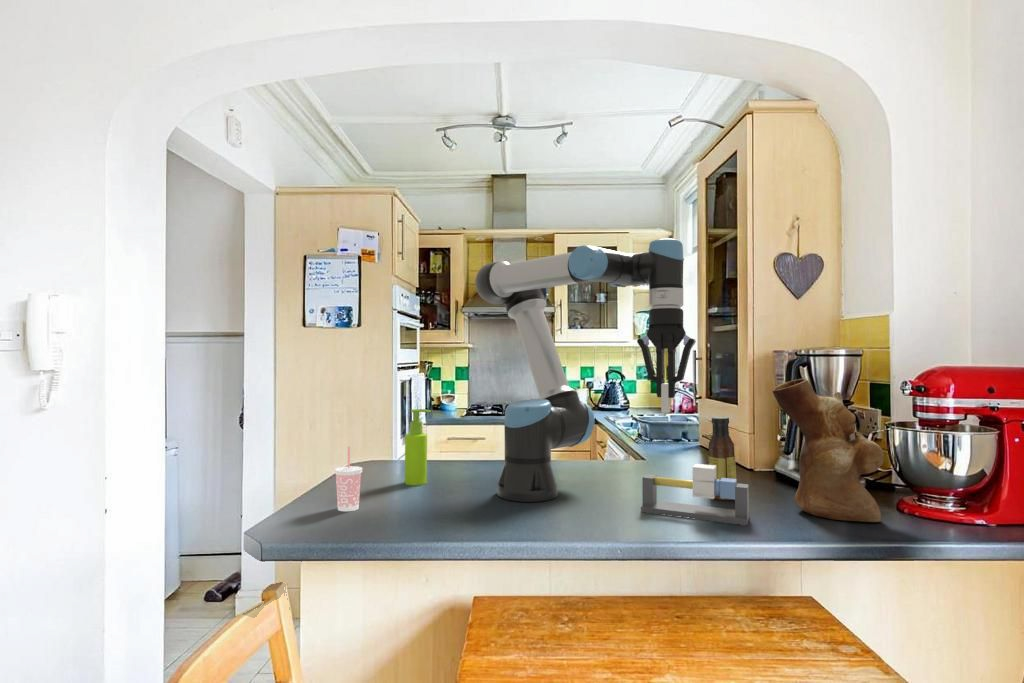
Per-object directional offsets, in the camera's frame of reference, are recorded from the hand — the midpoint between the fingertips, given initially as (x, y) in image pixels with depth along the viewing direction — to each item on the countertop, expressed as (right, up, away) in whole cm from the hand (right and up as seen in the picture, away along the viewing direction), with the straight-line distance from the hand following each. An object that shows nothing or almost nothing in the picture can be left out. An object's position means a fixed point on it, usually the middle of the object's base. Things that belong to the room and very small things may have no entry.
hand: (665, 412), depth 128 cm
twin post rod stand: (+5, -22, -3) cm, 23 cm away
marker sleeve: (+7, -18, -4) cm, 20 cm away
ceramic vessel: (+35, -23, -2) cm, 42 cm away
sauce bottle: (+17, -23, +11) cm, 30 cm away
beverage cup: (-72, -22, 0) cm, 75 cm away
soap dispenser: (-60, -23, +26) cm, 70 cm away
